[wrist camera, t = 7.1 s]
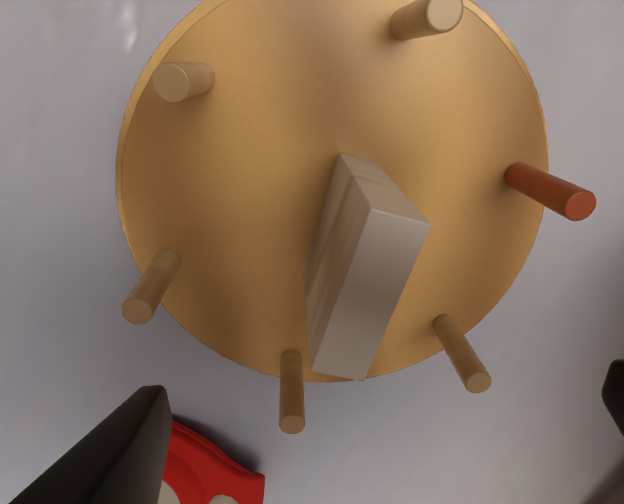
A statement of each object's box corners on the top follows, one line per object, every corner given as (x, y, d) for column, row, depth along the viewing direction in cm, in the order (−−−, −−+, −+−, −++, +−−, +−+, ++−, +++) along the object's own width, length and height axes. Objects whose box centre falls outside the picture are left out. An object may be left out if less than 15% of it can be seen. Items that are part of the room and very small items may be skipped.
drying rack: (209, 406, 21) (174, 558, 15) (43, 43, 14) (-161, 28, 8) (542, 331, 21) (661, 457, 14) (539, -92, 14) (775, -237, 7)
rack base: (34, 135, 17) (13, 141, 16) (428, -155, 14) (443, -179, 13) (276, 408, 24) (276, 429, 23) (578, 253, 21) (599, 266, 20)
